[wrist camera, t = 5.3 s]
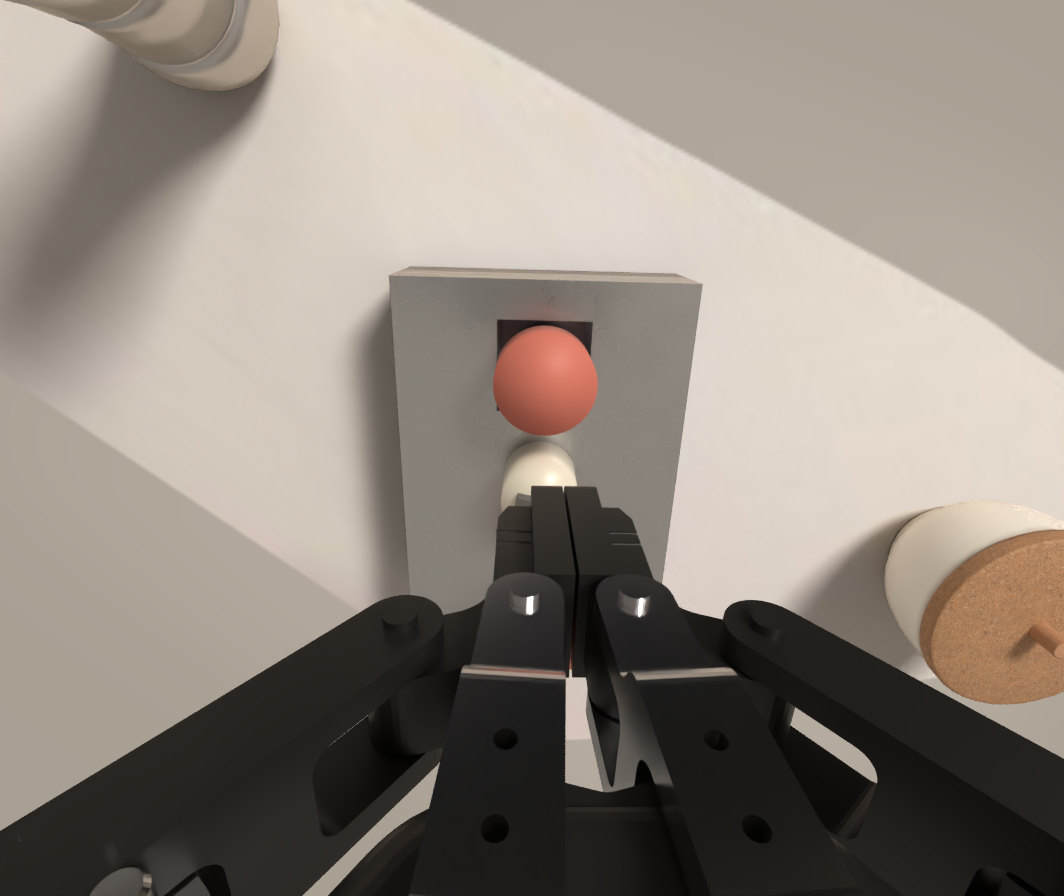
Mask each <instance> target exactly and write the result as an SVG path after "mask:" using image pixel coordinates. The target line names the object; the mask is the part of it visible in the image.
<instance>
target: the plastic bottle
mask: <svg viewBox="0 0 1064 896" xmlns="http://www.w3.org/2000/svg"><path fill="white" fill-rule="evenodd" d="M6 1H10V2H14V3H18V4H23V5H26V6H29V7H32V8H34V9H37V10H40V11H43V12H45V13H48V14H51V15H54V16H56V17H60V18H64V19H66V20H68V21H70V22H73V23H76V24H79V25H81V26H84V27H86V28H87V29H89V30H91V31H93V32H95V33H96V34H98V35H100V36H102V37H103V38H105V39H107V40H109V41H110V42H112V43H114V44H116V45H117V46H119V47H121V48H122V49H123V50H124V51H126V52H127V53H128V54H129V55H130V56H132V57H133V58H135V59H136V60H137V61H139V62H140V63H142V64H143V65H144V66H146V67H147V68H149V69H150V70H152V71H154V72H155V73H157V74H158V75H160V76H161V77H163V78H165V79H167V80H169V81H171V82H173V83H175V84H177V85H180V86H184V87H188V88H191V89H199V90H216V91H225V90H232V89H237V88H239V87H242V86H244V85H246V84H249V83H250V82H251V81H253V80H254V79H255V78H257V77H258V76H259V75H260V74H261V73H262V72H263V70H264V69H265V68H266V67H267V66H268V64H269V62H270V60H271V58H272V56H273V54H274V52H275V48H276V45H277V41H278V35H279V12H278V4H277V0H6Z"/></svg>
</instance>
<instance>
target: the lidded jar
mask: <svg viewBox="0 0 1064 896" xmlns="http://www.w3.org/2000/svg"><path fill="white" fill-rule="evenodd" d="M885 591H886V595H887V599H888V603H889V607H890V609H891V611H892V613H893V615H894V617H895V619H896V621H897V623H898V625H899V627H900V628H901V630H902V632H903V633H904V635H905V636H906V638H907V639H908V640H909V641H910V643H911V644H912V645H913V646H914V648H915V649H916V650H917V651H918V652H919V654H920V655H921V656H922V657H923V659H924V660H925V661H926V663H927V665H928V666H929V668H930V669H931V670H932V671H933V673H934V674H935V675H936V676H937V677H938V679H939V680H940V681H941V682H942V683H943V684H944V685H945V686H947V687H948V688H949V689H950V690H952V691H953V692H955V693H957V694H959V695H961V696H963V697H966V698H968V699H971V700H975V701H979V702H984V703H989V704H1019V703H1026V702H1031V701H1036V700H1040V699H1043V698H1046V697H1050V696H1054V695H1056V694H1058V693H1061V692H1063V691H1064V522H1063V521H1061V520H1058V519H1056V518H1053V517H1051V516H1048V515H1046V514H1043V513H1041V512H1038V511H1036V510H1033V509H1029V508H1026V507H1023V506H1019V505H1015V504H1009V503H1004V502H996V501H971V502H961V503H957V504H952V505H948V506H945V507H940V508H935V509H932V510H929V511H926V512H924V513H922V514H920V515H918V516H917V517H915V518H913V519H912V520H911V521H909V522H908V523H907V524H906V525H905V526H904V527H903V528H902V529H901V530H900V531H899V533H898V534H897V535H896V537H895V539H894V540H893V542H892V545H891V548H890V552H889V557H888V560H887V563H886V567H885Z"/></svg>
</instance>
